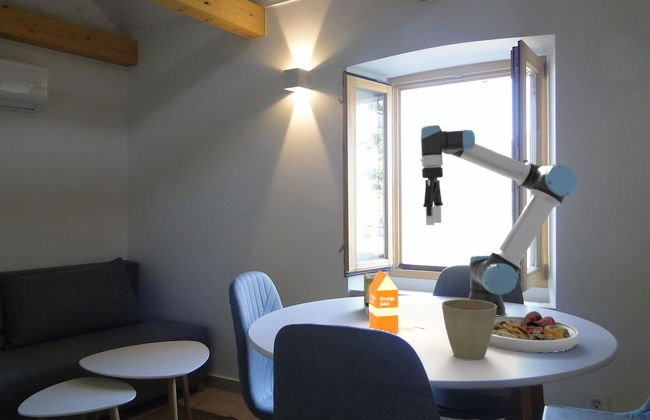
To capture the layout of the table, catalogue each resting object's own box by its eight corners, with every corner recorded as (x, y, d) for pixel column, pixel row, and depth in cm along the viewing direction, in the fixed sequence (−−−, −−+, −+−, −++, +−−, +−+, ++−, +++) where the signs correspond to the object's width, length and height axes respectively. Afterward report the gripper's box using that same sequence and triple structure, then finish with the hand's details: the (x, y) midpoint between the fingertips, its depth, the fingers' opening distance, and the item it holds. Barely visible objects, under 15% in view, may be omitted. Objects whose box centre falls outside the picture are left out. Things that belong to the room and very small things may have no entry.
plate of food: (572, 364, 141) (572, 336, 140) (464, 348, 157) (463, 323, 156) (583, 338, 166) (583, 314, 166) (489, 327, 182) (489, 305, 182)
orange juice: (376, 334, 171) (375, 274, 170) (369, 327, 179) (368, 270, 179) (399, 332, 172) (398, 273, 172) (390, 326, 181) (389, 269, 180)
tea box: (391, 315, 200) (391, 278, 200) (365, 316, 201) (365, 278, 200) (387, 307, 215) (387, 272, 215) (363, 307, 216) (363, 272, 215)
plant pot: (437, 365, 141) (437, 307, 140) (447, 350, 154) (447, 297, 154) (494, 372, 135) (494, 311, 134) (499, 355, 148) (499, 301, 148)
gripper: (429, 169, 205) (431, 222, 205) (414, 166, 182) (416, 226, 182) (448, 167, 202) (450, 221, 202) (435, 165, 179) (437, 225, 179)
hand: (434, 223), depth 192 cm, fingers open, 13 cm apart
